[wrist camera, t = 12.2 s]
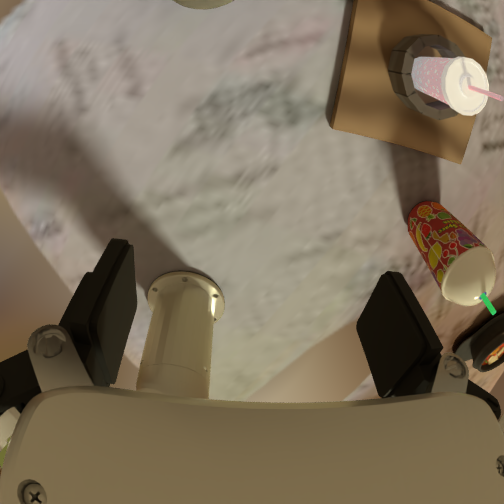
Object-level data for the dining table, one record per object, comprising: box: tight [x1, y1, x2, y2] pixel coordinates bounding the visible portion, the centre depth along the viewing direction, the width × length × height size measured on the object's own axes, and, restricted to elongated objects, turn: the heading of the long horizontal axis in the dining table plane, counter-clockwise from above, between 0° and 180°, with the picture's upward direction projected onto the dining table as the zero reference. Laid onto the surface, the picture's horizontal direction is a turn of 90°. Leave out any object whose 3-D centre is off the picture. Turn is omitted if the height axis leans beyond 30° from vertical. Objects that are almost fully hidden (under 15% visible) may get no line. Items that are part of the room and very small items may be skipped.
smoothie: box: [408, 201, 496, 315], centre depth 34 cm, size 8×8×20 cm
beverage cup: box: [411, 57, 504, 116], centre depth 22 cm, size 6×6×14 cm
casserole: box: [455, 313, 504, 372], centre depth 59 cm, size 25×19×8 cm
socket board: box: [330, 0, 492, 164], centre depth 27 cm, size 20×20×5 cm
